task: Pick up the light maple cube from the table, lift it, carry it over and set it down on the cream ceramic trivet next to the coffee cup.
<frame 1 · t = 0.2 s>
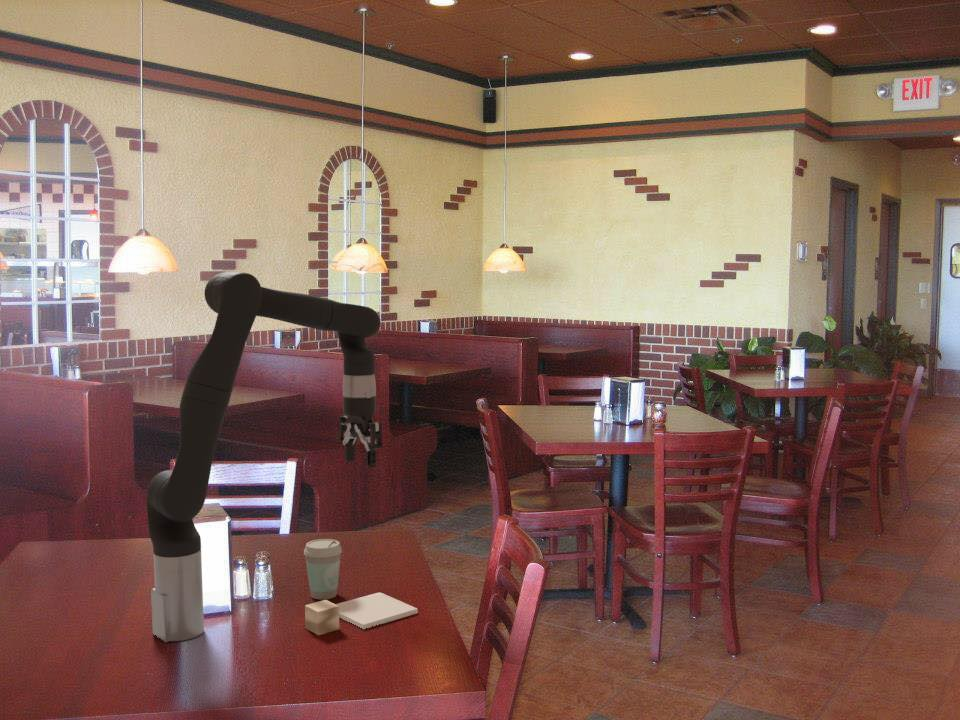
hand: (360, 463, 226), 29 cm above the table, fingers open, 8 cm apart
maple cube: (322, 629, 203), on the table
trivet: (371, 612, 212), on the table
coffee cup: (323, 596, 223), on the table
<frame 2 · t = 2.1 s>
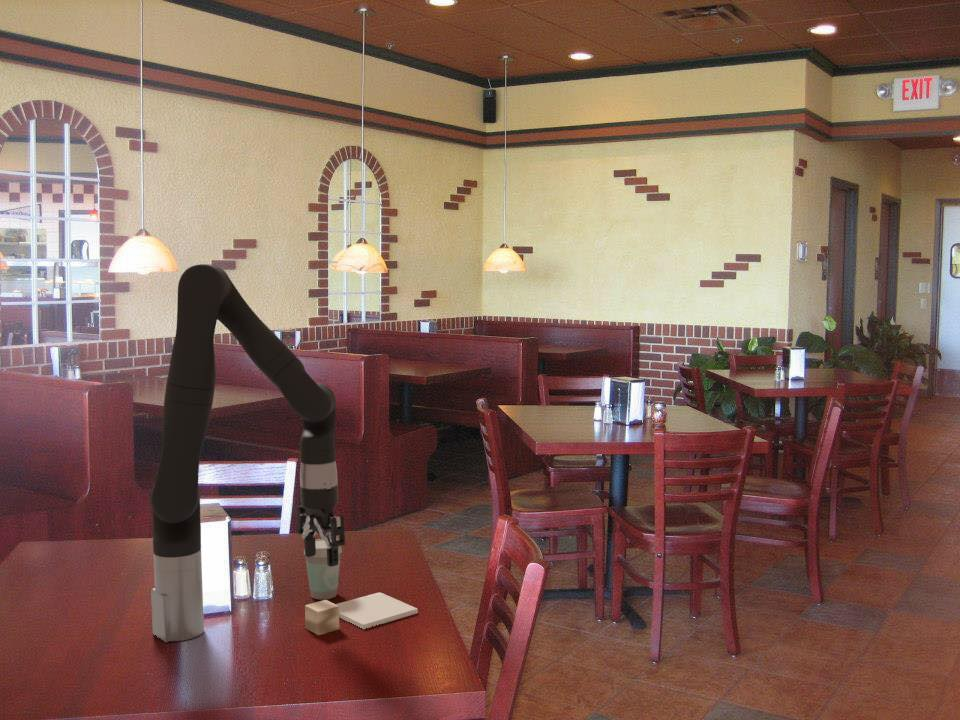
hand: (321, 560, 201), 14 cm above the table, fingers open, 8 cm apart
nothing on the table moved.
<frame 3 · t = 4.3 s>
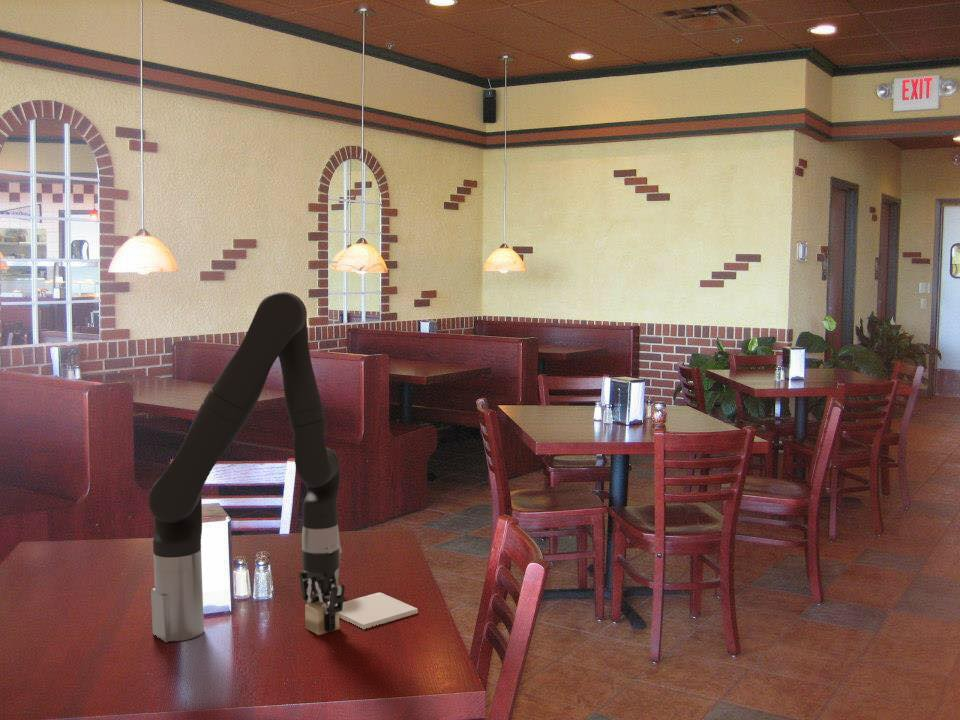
hand: (322, 626, 203), 0 cm above the table, fingers closed on maple cube, 5 cm apart
maple cube: (322, 628, 203), on the table, touching gripper
everything else where it was.
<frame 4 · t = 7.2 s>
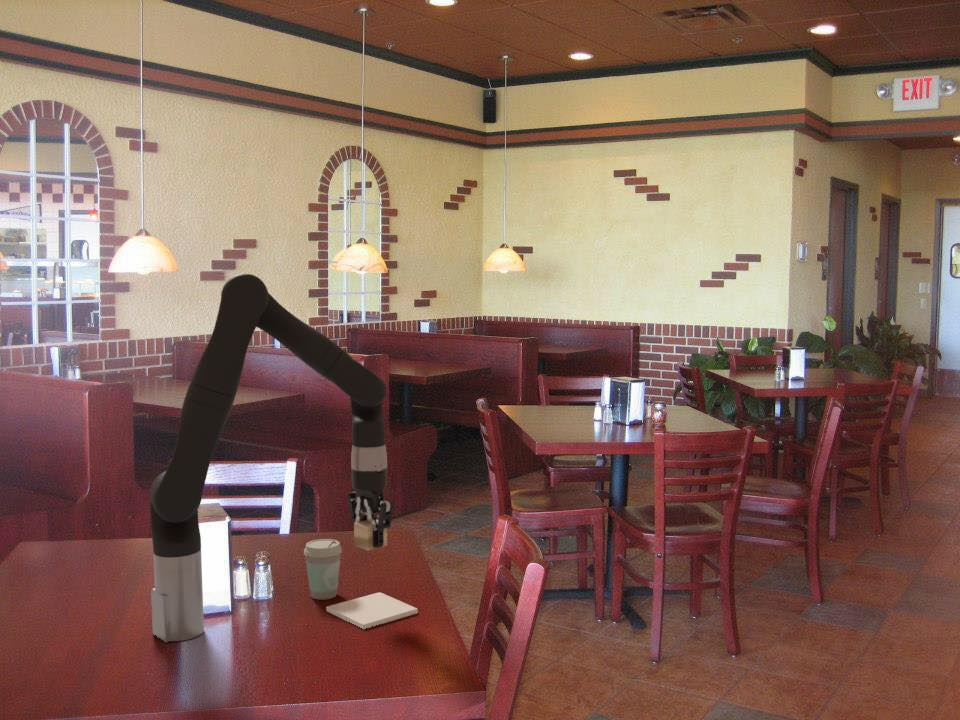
hand: (370, 543, 210), 15 cm above the table, fingers closed on maple cube, 5 cm apart
maple cube: (370, 545, 210), point 15 cm above the table, touching gripper
everything else where it was.
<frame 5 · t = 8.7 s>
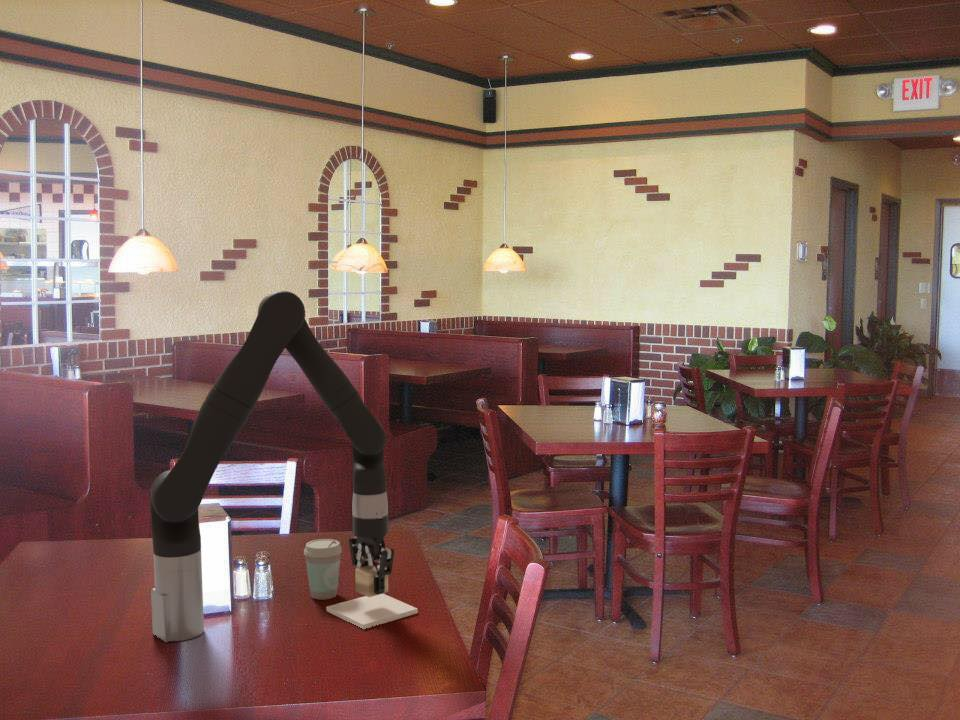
hand: (371, 589, 211), 5 cm above the table, fingers closed on maple cube, 5 cm apart
maple cube: (372, 591, 211), point 4 cm above the table, touching gripper
everything else where it was.
when the fingers open (3 cm above the table, at t = 10.1 s): maple cube drops 1 cm, resting on trivet.
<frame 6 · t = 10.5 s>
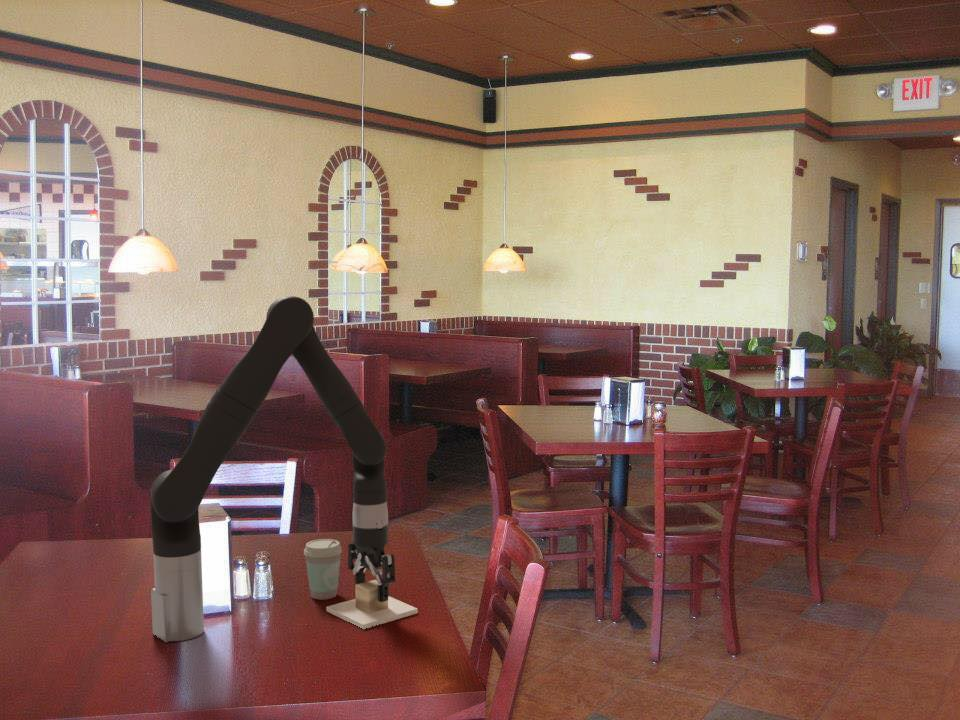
hand: (371, 596, 211), 4 cm above the table, fingers open, 8 cm apart
maple cube: (371, 607, 212), point 1 cm above the table, touching trivet
everything else where it was.
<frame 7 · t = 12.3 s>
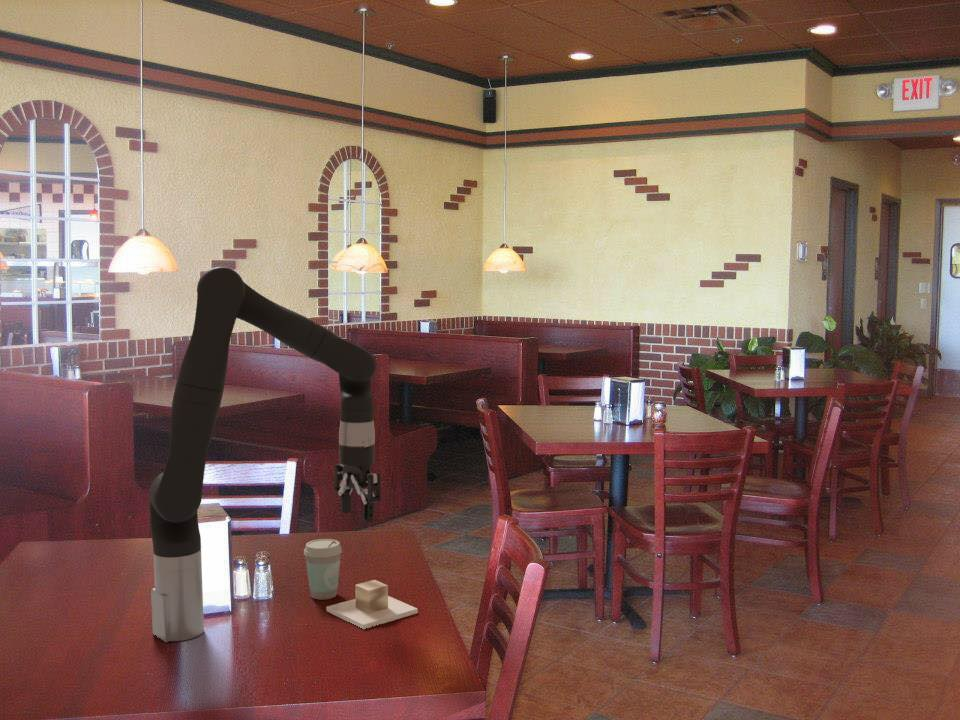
hand: (356, 516, 210), 21 cm above the table, fingers open, 8 cm apart
nothing on the table moved.
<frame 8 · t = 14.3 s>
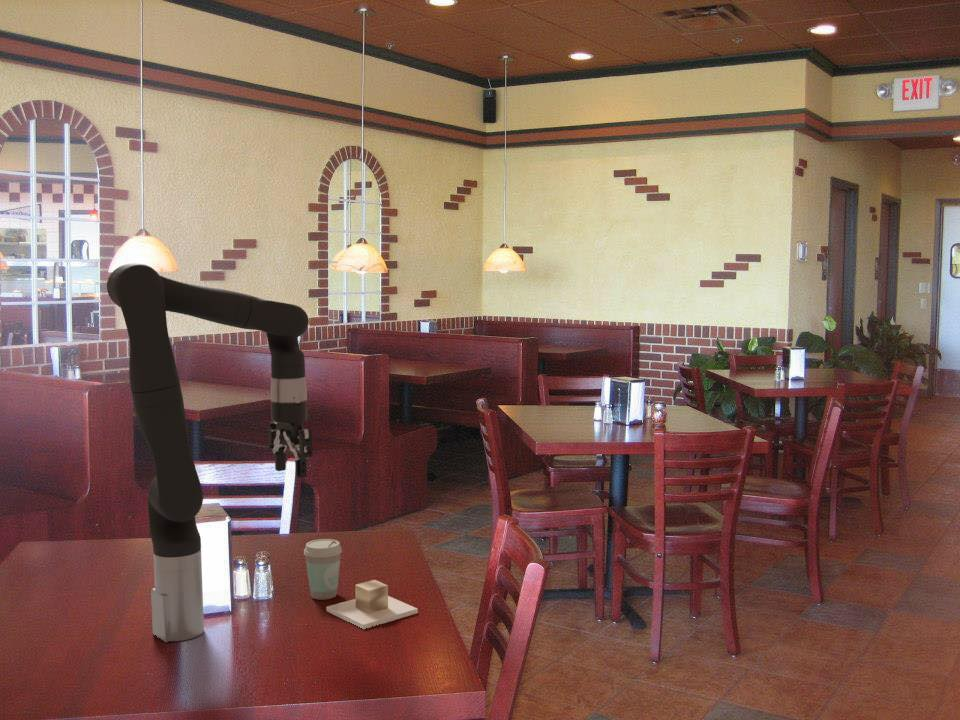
hand: (290, 473, 210), 30 cm above the table, fingers open, 8 cm apart
nothing on the table moved.
at the end: maple cube inside the target area on the trivet (0.0 cm from its centre), point 1.0 cm above the trivet's base; maple cube tilted 0°; the gripper is holding nothing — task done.
